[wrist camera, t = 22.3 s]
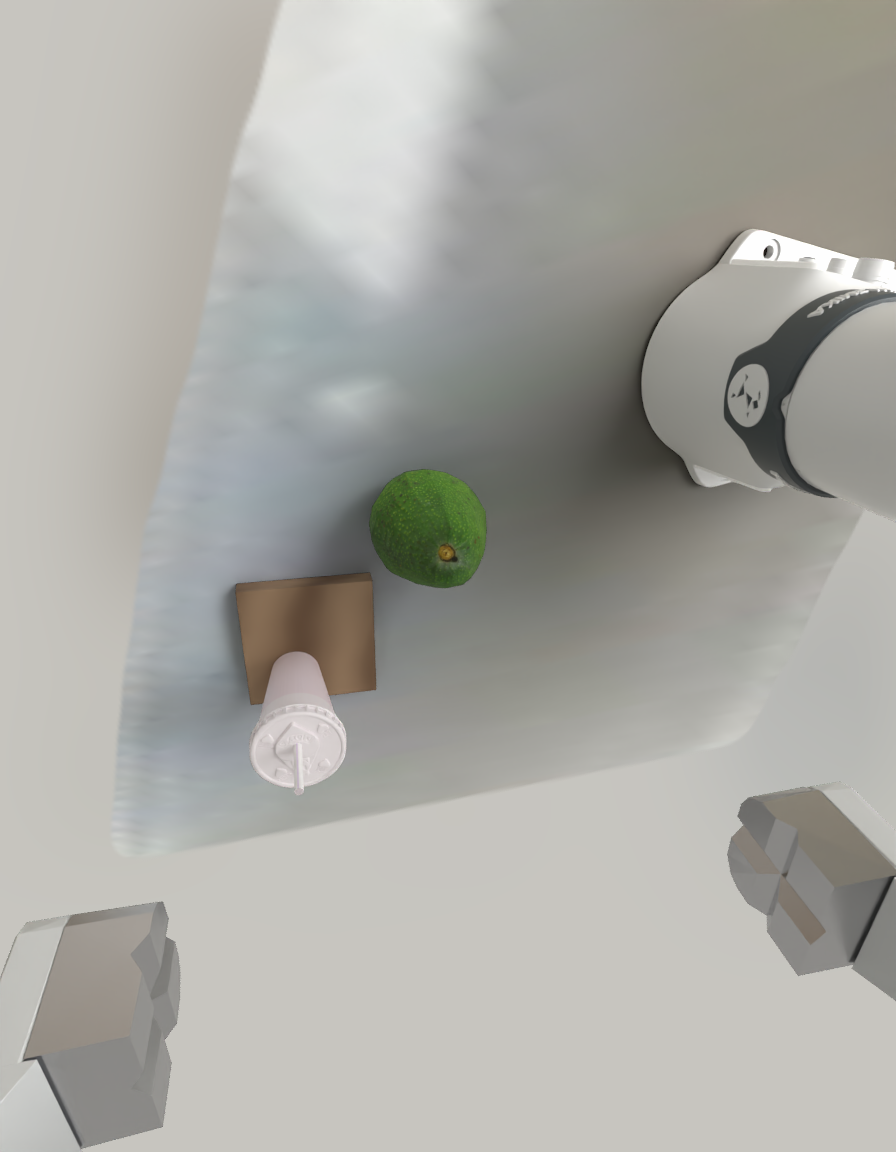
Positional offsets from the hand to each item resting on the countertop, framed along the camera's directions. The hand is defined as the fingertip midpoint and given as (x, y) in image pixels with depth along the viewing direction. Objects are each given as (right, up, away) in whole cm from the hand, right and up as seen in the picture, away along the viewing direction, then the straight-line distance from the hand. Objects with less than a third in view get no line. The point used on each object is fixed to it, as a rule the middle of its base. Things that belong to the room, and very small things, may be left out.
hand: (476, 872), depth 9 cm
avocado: (-3, +10, +41) cm, 43 cm away
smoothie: (-12, -3, +43) cm, 45 cm away
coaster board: (-12, -1, +44) cm, 45 cm away
